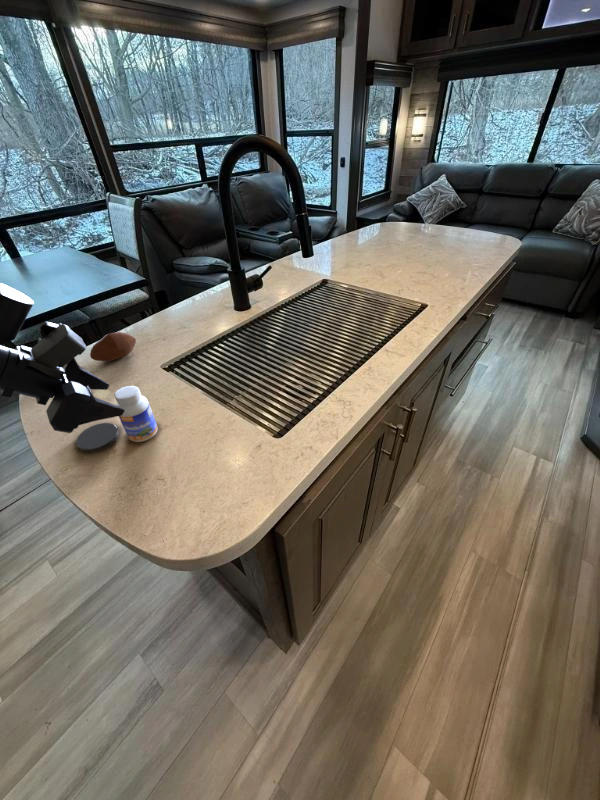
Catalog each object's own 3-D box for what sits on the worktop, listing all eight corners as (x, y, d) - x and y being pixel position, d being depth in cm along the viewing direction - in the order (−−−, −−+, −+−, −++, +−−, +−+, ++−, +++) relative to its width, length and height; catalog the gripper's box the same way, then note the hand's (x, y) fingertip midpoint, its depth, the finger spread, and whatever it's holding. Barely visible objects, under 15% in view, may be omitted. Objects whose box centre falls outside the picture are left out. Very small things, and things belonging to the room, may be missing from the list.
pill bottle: (128, 446, 61) (108, 405, 55) (128, 427, 65) (109, 387, 59) (159, 438, 62) (143, 397, 56) (157, 420, 66) (142, 380, 60)
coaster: (98, 456, 59) (97, 453, 58) (69, 446, 61) (67, 443, 60) (127, 430, 64) (125, 427, 64) (98, 422, 66) (97, 419, 65)
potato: (89, 362, 84) (78, 339, 80) (131, 344, 91) (123, 323, 87) (100, 370, 81) (90, 347, 77) (143, 351, 88) (135, 329, 84)
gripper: (36, 342, 38) (158, 383, 50) (20, 296, 50) (122, 339, 62) (-7, 422, 39) (122, 444, 51) (-13, 359, 51) (94, 389, 63)
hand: (115, 398), depth 57 cm, fingers open, 9 cm apart
